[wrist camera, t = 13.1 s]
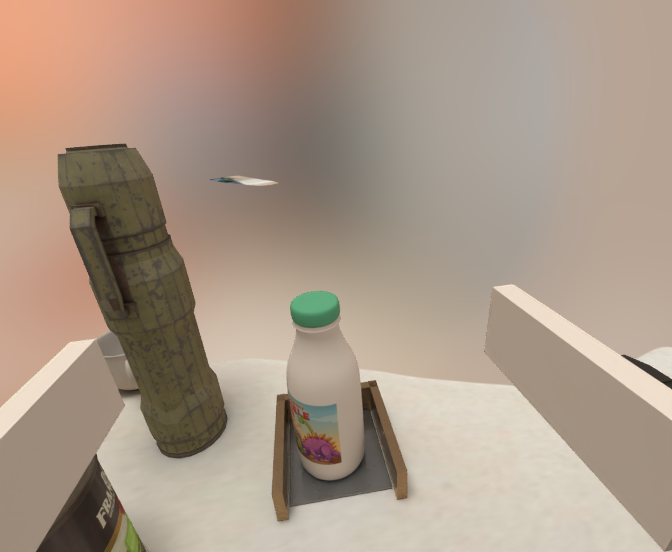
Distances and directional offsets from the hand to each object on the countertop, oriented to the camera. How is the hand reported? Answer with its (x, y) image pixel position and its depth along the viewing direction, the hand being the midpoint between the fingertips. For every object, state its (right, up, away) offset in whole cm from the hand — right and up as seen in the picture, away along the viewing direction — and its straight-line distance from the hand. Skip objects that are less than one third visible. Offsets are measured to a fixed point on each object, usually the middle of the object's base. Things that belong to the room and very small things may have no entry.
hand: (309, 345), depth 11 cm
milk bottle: (+1, -18, +27) cm, 33 cm away
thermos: (-18, -18, +33) cm, 41 cm away
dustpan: (+1, -18, +29) cm, 34 cm away
